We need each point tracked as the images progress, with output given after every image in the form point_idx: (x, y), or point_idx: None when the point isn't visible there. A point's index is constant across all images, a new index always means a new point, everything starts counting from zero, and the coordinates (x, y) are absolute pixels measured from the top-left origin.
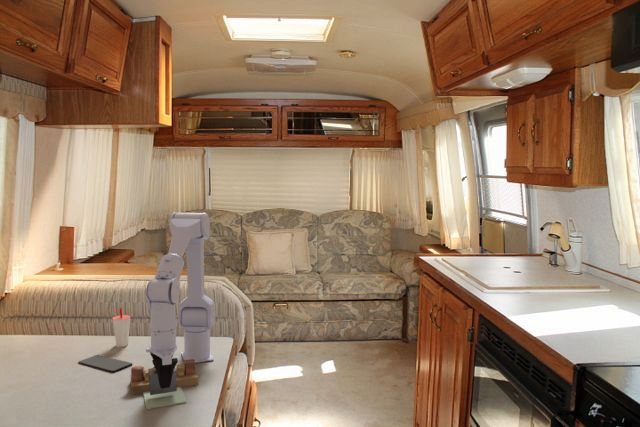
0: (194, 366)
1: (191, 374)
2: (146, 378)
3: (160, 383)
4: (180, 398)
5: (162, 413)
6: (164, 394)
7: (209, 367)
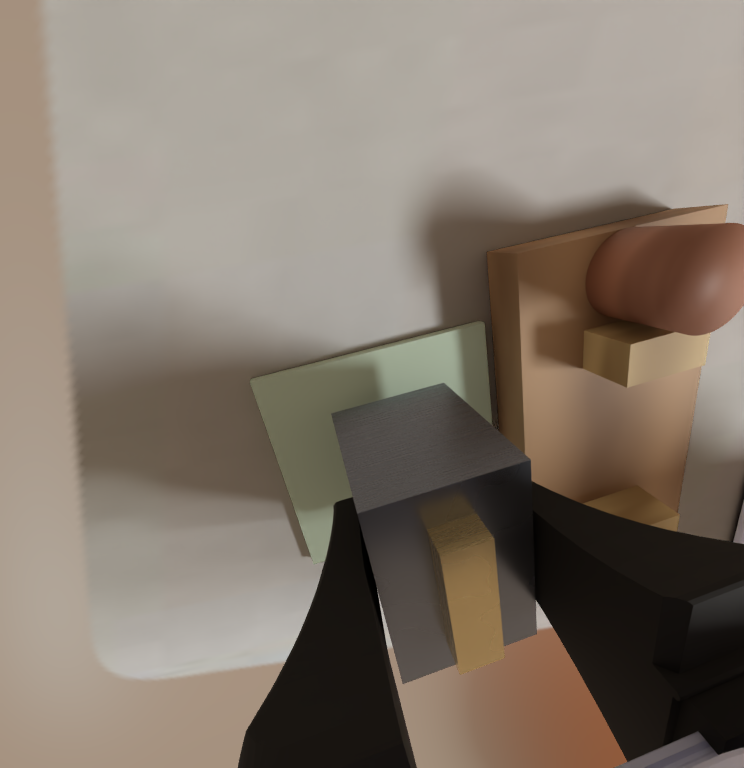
0: None
1: None
2: (595, 342)
3: (331, 532)
4: None
5: (190, 476)
6: None
7: None
